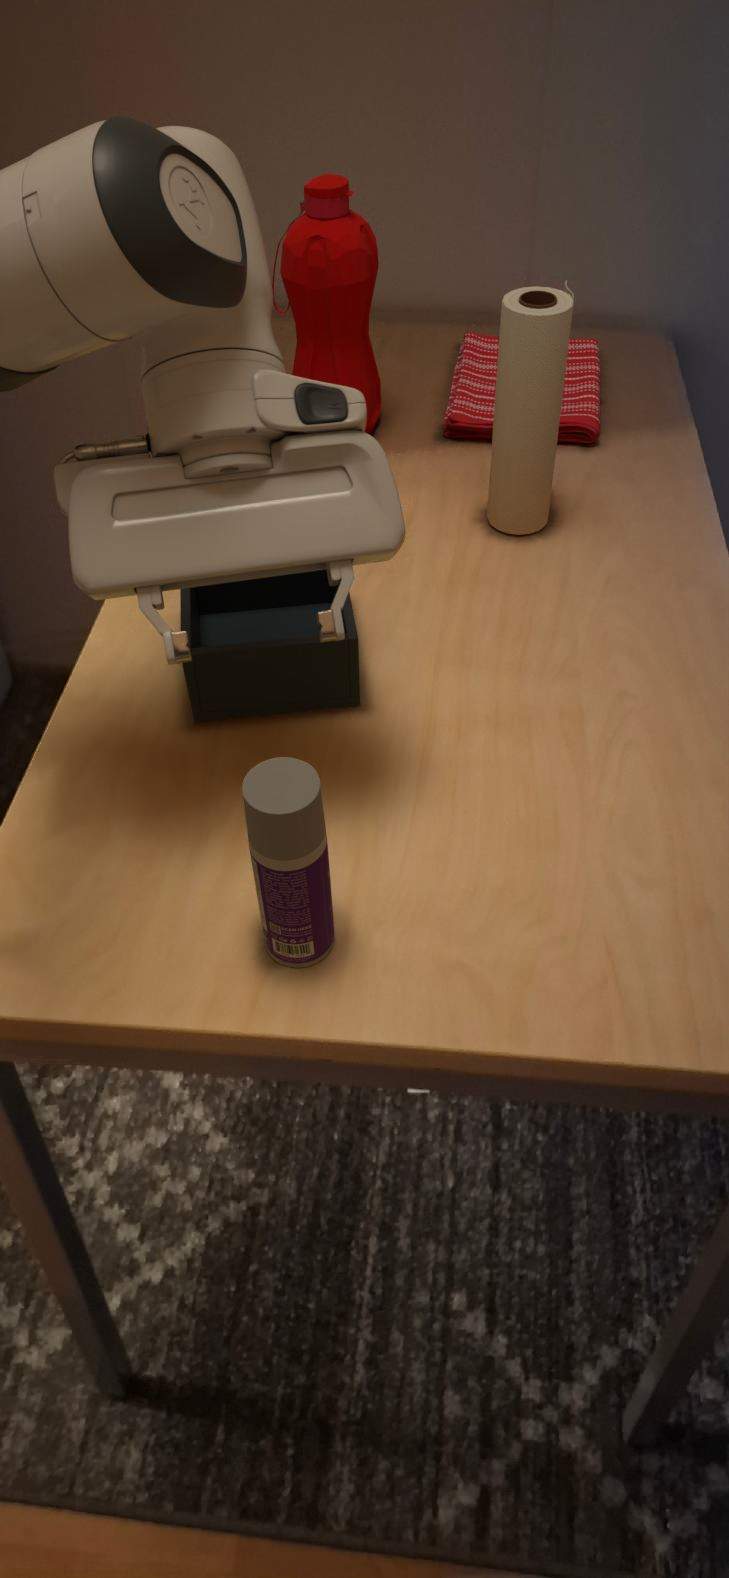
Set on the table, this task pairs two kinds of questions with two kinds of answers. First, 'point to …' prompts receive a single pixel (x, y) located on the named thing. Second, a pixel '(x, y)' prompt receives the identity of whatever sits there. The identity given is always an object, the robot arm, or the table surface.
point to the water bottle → (332, 290)
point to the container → (290, 859)
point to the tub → (267, 648)
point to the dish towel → (478, 387)
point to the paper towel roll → (528, 406)
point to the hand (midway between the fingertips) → (256, 651)
